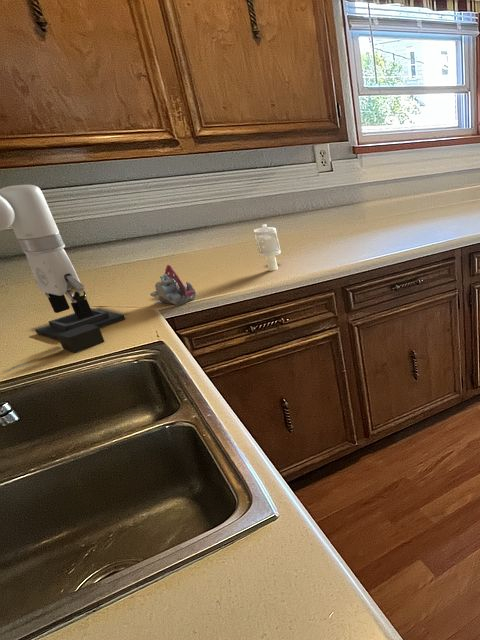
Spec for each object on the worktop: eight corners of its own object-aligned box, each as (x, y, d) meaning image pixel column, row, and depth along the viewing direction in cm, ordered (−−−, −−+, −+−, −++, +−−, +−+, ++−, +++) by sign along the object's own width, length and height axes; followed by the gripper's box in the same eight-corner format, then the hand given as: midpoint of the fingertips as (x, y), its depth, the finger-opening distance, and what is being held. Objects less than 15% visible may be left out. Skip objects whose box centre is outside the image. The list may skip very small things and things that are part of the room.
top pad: (74, 353, 123) (68, 337, 121) (63, 349, 125) (56, 334, 124) (104, 341, 129) (99, 326, 127) (93, 338, 131) (87, 323, 129)
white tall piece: (284, 265, 184) (275, 223, 177) (283, 270, 178) (274, 227, 171) (263, 267, 182) (253, 225, 175) (262, 273, 176) (252, 229, 169)
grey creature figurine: (209, 289, 155) (176, 264, 145) (187, 319, 152) (152, 296, 142) (188, 283, 161) (154, 259, 151) (166, 313, 157) (131, 290, 147)
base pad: (62, 341, 130) (57, 331, 128) (36, 333, 135) (32, 324, 133) (125, 319, 142) (122, 309, 141) (100, 312, 147) (96, 303, 146)
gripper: (3, 244, 116) (37, 314, 124) (44, 251, 109) (77, 325, 117) (40, 236, 122) (70, 303, 130) (81, 242, 115) (110, 313, 123)
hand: (73, 313), depth 124 cm, fingers open, 9 cm apart
